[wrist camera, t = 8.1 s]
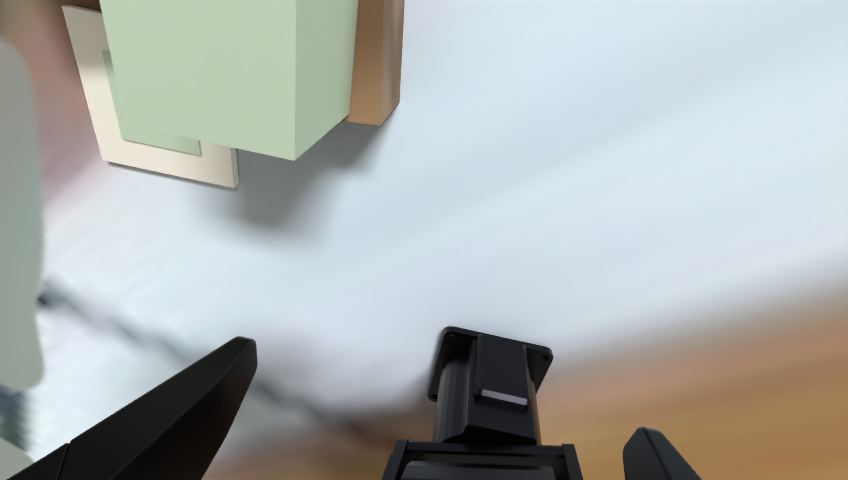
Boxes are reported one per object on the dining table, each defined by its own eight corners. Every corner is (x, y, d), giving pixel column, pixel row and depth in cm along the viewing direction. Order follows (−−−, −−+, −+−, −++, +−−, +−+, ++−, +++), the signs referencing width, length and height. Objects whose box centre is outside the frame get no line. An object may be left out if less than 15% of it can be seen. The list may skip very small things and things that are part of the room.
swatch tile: (239, 184, 21) (232, 189, 21) (110, 156, 21) (100, 160, 21) (227, 37, 18) (218, 38, 17) (71, 5, 18) (58, 5, 17)
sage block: (349, 113, 15) (294, 160, 10) (228, 87, 15) (125, 124, 11) (360, -34, 12) (296, -51, 8) (217, -64, 12) (78, -96, 8)
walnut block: (400, 101, 18) (380, 125, 15) (270, 85, 19) (222, 106, 15) (408, -65, 15) (386, -83, 12) (253, -79, 16) (188, -100, 12)
